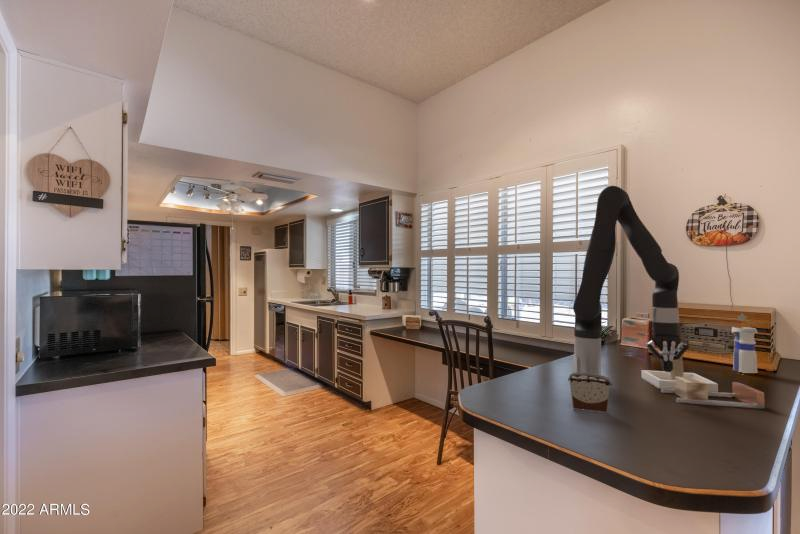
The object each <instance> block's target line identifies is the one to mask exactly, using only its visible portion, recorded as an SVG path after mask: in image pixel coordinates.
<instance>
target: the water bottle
mask: <svg viewBox="0 0 800 534" xmlns="http://www.w3.org/2000/svg"><path fill="white" fill-rule="evenodd" d="M736 317H737V318H739V320H738V321H739V322H740V321H744V322H745V321H746V318H748V316H747V315H744V314H743V313H741V315H737V316H736ZM731 333H732V334H733V335H735V338H734V339H733V342H734V343H733V346H734V348H733V364H732V366H733V367H732V371H733V370H734V371H737V372H742V373H759V372H758V371H759V370H758V360H757V359H758V356H757V352H756V344H757V342H756V341H755V334H758V333H759V332H758V330H757V328H754V327H750V326H742V327H735V326H732V327H731Z"/></svg>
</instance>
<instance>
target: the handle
mask: <svg viewBox="0 0 800 534" xmlns="http://www.w3.org/2000/svg"><path fill="white" fill-rule="evenodd" d="M685 344H686V345H688V344H687V343H685ZM677 349H678V346H677V348H676V349H675V351H676V350H677ZM683 372H684V363H683V355H682V356H681V357H680V358H679V359H676V360H673V370H671V372H670V373H671V378H672V379H671V380H675V376H676V377H683Z"/></svg>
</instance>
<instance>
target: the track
mask: <svg viewBox="0 0 800 534" xmlns="http://www.w3.org/2000/svg"><path fill="white" fill-rule="evenodd" d="M731 388H732V392H724V391H723V392H719V391H718V392H708V397H720V398H723V397H724V398H732V397H735V398H734V399H736V398H737V400H738V399H739V401H726V400H713V399H708V400H700V399H686V398H682V397H676V403H681V404H693V405H695V404H696V405H707V406H708V405H709V406H719V407H733V408H734V407H735V408H747V409H748V408H749V409H761V410H762V409H763V410H765V409H766V407H765V392H763V391H761V390H759V389H756V388H754V387H752V386H748V385H746V384H744V383H742V382H737V381H732V387H731ZM660 392H661V393H662V394H663V393H664V394H675V389H663V388H661V389H660ZM675 395H676V394H675ZM740 401H741V402H740ZM745 402H746V403H745Z"/></svg>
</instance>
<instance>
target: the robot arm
mask: <svg viewBox="0 0 800 534" xmlns="http://www.w3.org/2000/svg"><path fill="white" fill-rule="evenodd" d="M596 202H597V203H596V213H595V219H594V222H593V227H592V231H591V234H590V238H589V243H588V246H587V249H586V253H585V257H584V264H583V267H582V268H583V270H582V277H581V282H580V285H579V286H580V287H579V289H578V292H577V294H576V298H575V300H574V302H573V306H572V309H573V313H574V314H575V321H574V322H575V323H574V329H573V330H574V331H573V332H574V333H573V335H574V338H573V339H574V340H573V341H574V342H573V344H574V345H573V347H574V349H573V350H574V351H573V352H574V353H573V354H572V373H591V374H597V375H601V376H602V326H603V325H602V321H603V320H602V315H603V314H602V311H603V309H602V304H601V296H602V290H603V287H604V283H605V282H606V280H607V277H608V274H609V272H610V270H611V267H612V264H613V261H614V256H615V253H616V246H617V243H616V242H617V240H616V239H617V238H616V236H617V235H616V233H617V231H616V227H617V225H616V224H617V222H618V223H619V225H620V227H621V228H622V229H623V231H624V234H625V236H626V237H627V240H628V241H629V244H630V245H631V247H632V249H633V250H634V251H635V253H636V255H637V256H638V257H639V258H640V260H641V263H642V265H643V267H644V269H645V271H646V273H647V275H648V276H649V278H650V279H651V280H652V281H654V282H655V283H654V284H655V286H654V291H653V292H652V294H651V296H652V297H651V301H652V302H651V303H652V304H651V305H652V307H651V308H652V310H651V323H652V324H651V327H652V336H651V339H650V341H648V342H645V343H644V346H645V347H646V348H647V350H648V351H649V352H650V353H651V354H652V355H653V356H654V357H655V359H656V358H657V359H658V360H660V362H661V363H660V364H661V365H660V366H661V368H660V369H662V370H663V371H665V372H671V370H673V360H676V359H679V358H680V357H681V356H682V357H683V355H684V354H685V352H686V351H687V350H688V349H689V348H690V346H689V345H688V344H687V343H684V342H682V339H681V338H680V334H681V333H680V312H679V305H678V303H679V302H678V290H679V281H680V274H679V269H678V267H677V266H676V265H675V264H673V263H670V262H668V261H667V259H666V258H665V256H664V255H663V249H662V247H661V246H660V245H659V243H658V242H657V240H656V238H654V236H653V235H652V234H651V232H650V231H649V230H648V228H647V227H646V226H645V224H644V223H643V221H642V220H641V219H640V217H639V215H638V213H637V212H636V210H635V208H634V206H633V204H632V201H631V198H630V196H629V194H628V193H627V192H626V190H624V189H623V188H621V187H619V186H616V185H610V186H607V187H605V188H604V189H602V190H601V192H600V193H599V195H598V197H597V201H596ZM686 344H687V345H686ZM677 346H678V349H677V350H676V351H675V349H676V348H677ZM655 347H656V348H657V349H658V351H657V350H656V349H655Z"/></svg>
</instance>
